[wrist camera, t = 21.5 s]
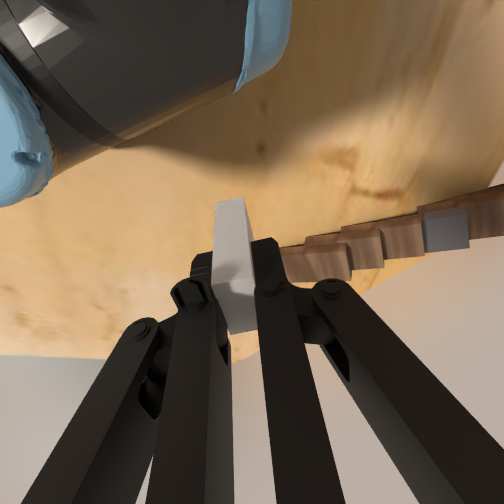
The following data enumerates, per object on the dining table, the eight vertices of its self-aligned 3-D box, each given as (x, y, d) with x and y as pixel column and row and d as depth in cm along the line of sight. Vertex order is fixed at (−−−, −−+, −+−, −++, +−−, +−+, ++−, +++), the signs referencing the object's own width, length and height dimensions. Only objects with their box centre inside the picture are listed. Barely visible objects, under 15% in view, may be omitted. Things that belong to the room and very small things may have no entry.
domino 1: (283, 282, 52) (351, 280, 47) (273, 256, 49) (345, 251, 44) (286, 274, 53) (351, 271, 49) (276, 248, 50) (346, 242, 45)
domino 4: (387, 257, 50) (469, 247, 44) (380, 227, 47) (466, 213, 41) (388, 249, 51) (467, 239, 46) (380, 220, 48) (464, 205, 43)
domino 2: (313, 272, 51) (384, 267, 46) (304, 244, 48) (379, 236, 43) (314, 264, 53) (384, 259, 48) (305, 236, 49) (379, 228, 45)
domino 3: (348, 263, 50) (424, 255, 45) (340, 234, 47) (421, 223, 42) (349, 255, 52) (423, 247, 47) (341, 227, 49) (419, 215, 44)
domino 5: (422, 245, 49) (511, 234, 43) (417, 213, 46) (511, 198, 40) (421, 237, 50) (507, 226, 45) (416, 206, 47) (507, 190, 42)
